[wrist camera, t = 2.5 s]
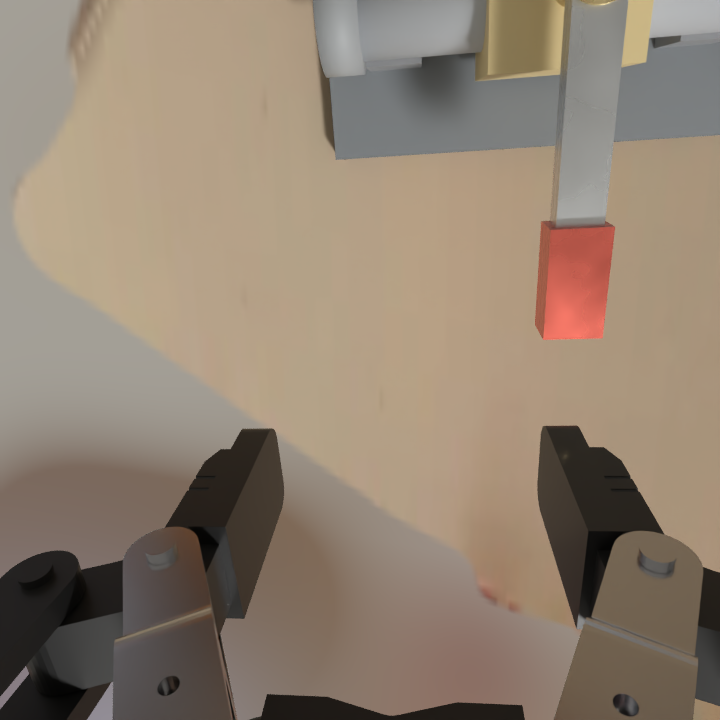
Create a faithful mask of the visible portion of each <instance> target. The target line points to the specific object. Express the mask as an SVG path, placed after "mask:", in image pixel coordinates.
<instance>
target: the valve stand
mask: <svg viewBox="0 0 720 720" xmlns="http://www.w3.org/2000/svg"><path fill="white" fill-rule="evenodd" d="M564 8H565V1H564V0H313V10H314V21H315V30H316V38H317V44H318V50H319V56H320V61H321V65H322V69H323V72H324V74H325V76H326V77H327V78H329V79H330V92H331V104H332V117H333V130H334V142H335V155H336V160H339V159H355V158H370V157H386V156H401V155H417V154H433V153H448V152H464V151H479V150H495V149H510V148H526V147H541V146H555V142H556V127H557V112H558V97H559V82H560V68H561V53H562V38H563V23H564ZM712 135H720V0H628V10H627V19H626V29H625V38H624V47H623V57H622V66H621V76H620V85H619V95H618V104H617V113H616V123H615V132H614V142H619V141H634V140H650V139H665V138H681V137H696V136H712Z"/></svg>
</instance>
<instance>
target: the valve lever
mask: <svg viewBox="0 0 720 720" xmlns="http://www.w3.org/2000/svg"><path fill="white" fill-rule="evenodd" d="M564 1H565V8H564V23H563V38H562V53H561V68H560V82H559V97H558V112H557V127H556V142H555V157H554V171H553V186H552V201H551V216H550V221H541V236H540V252H539V268H538V285H537V301H536V317H535V325H536V327H537V329H538V331H539V333H540V335H541V336H542V338H543V340H550V339H588V338H602V337H603V328H604V320H605V311H606V302H607V293H608V284H609V276H610V267H611V258H612V249H613V240H614V231H615V227H614V226H613V225H611V224H609V223H608V222H606V221H605V217H606V208H607V198H608V189H609V180H610V170H611V161H612V151H613V142H614V132H615V123H616V113H617V104H618V95H619V85H620V76H621V66H622V57H623V47H624V38H625V29H626V19H627V10H628V0H564Z"/></svg>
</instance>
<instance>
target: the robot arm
mask: <svg viewBox="0 0 720 720" xmlns="http://www.w3.org/2000/svg"><path fill="white" fill-rule="evenodd" d="M283 496H284V483H283V476H282V469H281V462H280V456H279V449H278V442H277V436H276V432H275V430H274V429H242V430H241V432H240V433H239V435H238V437H237V439H236V441H235V442H234V444H233V446H232V448H231V449H225V450H224V449H221V450H219V451H218V452H217V453H215V454H214V455H213V456H212V457H210V458H209V459H208V460H206V462H205V463H204V464H203V466H202V467H201V469H200V471H199V472H198V474H197V475H196V479H194V481H193V482H192V484H191V485H190V487H189V491H187V492H186V494H185V496H184V497H183V499H182V500H181V502H180V504H179V505H178V507H177V508H176V510H175V512H174V513H173V515H172V517H171V518H170V520H169V522H168V523H167V525H166V527H165V528H162V529H158V530H155V531H152V532H150V533H148V534H146V535H144V536H143V537H141V538H139V539H138V540H137V541H135V542H134V543H133V544H132V545H131V546H130V548H129V549H128V550H127V552H126V554H125V555H124V558H123V560H122V561H118V562H114V563H110V564H105V565H101V566H97V567H92V568H87V569H83V570H81V568H80V565H79V562H78V559H77V558H76V556H75V555H73V554H72V553H70V552H66V551H50V552H45V553H41V554H38V555H35V556H32V557H30V558H28V559H26V560H24V561H22V562H21V563H19V564H17V565H16V566H14V567H13V568H11V569H10V570H9V571H8V572H7V573H6V574H5V575H3V577H1V578H0V696H1V695H2V694H3V693H4V691H5V690H6V689H7V688H8V687H9V685H10V684H11V683H12V682H13V681H14V679H15V678H16V677H17V676H18V675H19V673H20V672H21V671H22V670H23V668H24V667H25V666H26V667H27V669H28V672H29V675H28V676H27V677H26V679H25V680H24V681H23V682H22V683H21V685H20V686H19V687H18V688H17V690H16V691H15V692H14V693H13V695H12V696H11V697H10V698H9V700H8V701H7V702H6V703H5V704H4V706H3V707H2V708H1V709H0V720H87V719H88V717H89V716H90V714H91V712H92V711H93V709H94V708H95V706H96V705H97V703H98V702H99V700H100V699H101V697H102V696H103V694H104V693H105V691H106V690H107V688H108V687H109V685H110V683H111V682H113V720H238V718H237V713H236V708H235V703H234V698H233V693H232V689H231V683H230V678H229V673H228V668H227V663H226V658H225V653H224V649H223V643H222V638H221V634H220V633H221V630H222V627H223V625H224V622H225V619H226V618H241V619H244V618H245V615H246V612H247V609H248V606H249V603H250V600H251V597H252V594H253V591H254V589H255V585H256V583H257V580H258V577H259V574H260V571H261V568H262V565H263V562H264V559H265V556H266V553H267V550H268V547H269V544H270V542H271V538H272V536H273V533H274V530H275V527H276V524H277V521H278V518H279V515H280V512H281V509H282V505H283V498H284V497H283ZM538 501H539V507H540V512H541V515H542V518H543V521H544V525H545V528H546V531H547V534H548V538H549V541H550V544H551V547H552V551H553V554H554V557H555V560H556V564H557V567H558V570H559V573H560V577H561V580H562V583H563V586H564V590H565V593H566V596H567V599H568V603H569V606H570V609H571V612H572V615H573V619H574V622H575V625H576V628H577V629H582V631H581V634H580V638H579V641H578V644H577V647H576V651H575V654H574V657H573V660H572V663H571V666H570V669H569V673H568V676H567V679H566V682H565V685H564V689H563V692H562V695H561V698H560V701H559V704H558V708H557V711H556V714H555V717H554V720H693V714H694V703H695V698H696V699H699V700H702V701H705V702H708V703H711V704H715V705H718V706H720V573H719V572H715V571H712V570H710V569H707V568H704V567H703V566H702V563H701V561H700V559H699V558H698V556H697V555H696V554H695V553H694V552H693V551H692V550H691V549H690V548H689V547H687V546H686V545H685V544H683V543H682V542H680V541H678V540H676V539H674V538H672V537H670V536H667V535H664V533H663V531H662V529H661V528H660V526H659V524H658V523H657V521H656V519H655V517H654V516H653V514H652V512H651V511H650V509H649V507H648V505H647V504H646V502H645V500H644V499H643V497H642V495H641V493H640V492H638V488H637V487H636V485H635V483H634V481H633V480H632V479H630V475H629V473H628V471H627V470H626V468H625V466H624V464H623V463H622V461H621V460H620V459H618V458H617V457H616V456H615V455H613V454H612V453H611V452H609V451H608V450H607V449H605V448H604V447H589V446H588V444H587V442H586V440H585V438H584V436H583V434H582V432H581V430H580V428H579V427H578V426H543V428H542V431H541V441H540V455H539V469H538ZM250 720H525V718H524V713H523V707H522V705H502V704H480V703H452V704H448V705H443V706H438V707H434V708H429V709H424V710H420V711H415V712H411V713H406V714H401V715H396V716H388V715H383V714H380V713H377V712H374V711H371V710H367V709H364V708H361V707H358V706H355V705H352V704H348V703H345V702H342V701H339V700H335V699H332V698H329V697H318V696H317V697H315V696H294V695H271V694H270V695H269V694H267V697H266V700H265V705H264V708H263V712H262V716H261V717H256V718H253V719H250Z"/></svg>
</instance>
